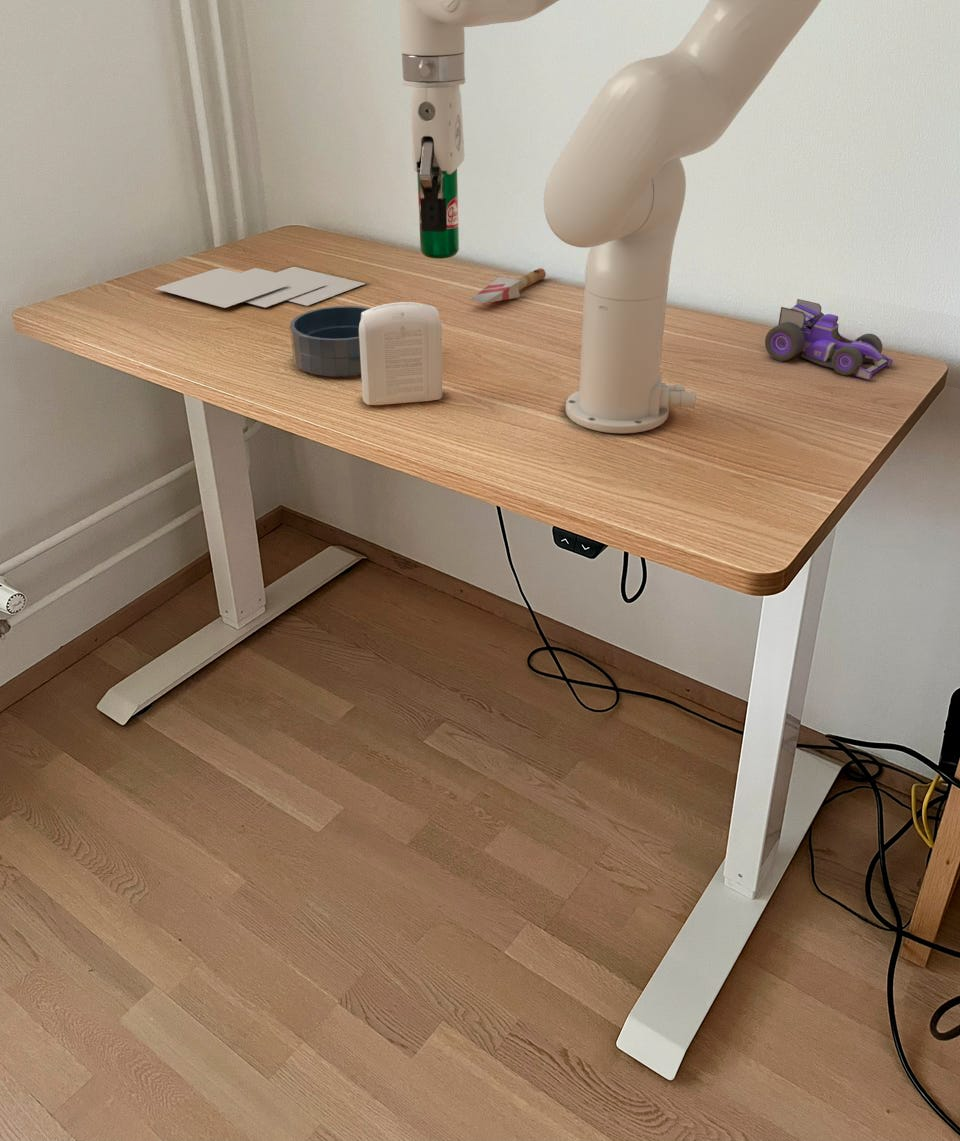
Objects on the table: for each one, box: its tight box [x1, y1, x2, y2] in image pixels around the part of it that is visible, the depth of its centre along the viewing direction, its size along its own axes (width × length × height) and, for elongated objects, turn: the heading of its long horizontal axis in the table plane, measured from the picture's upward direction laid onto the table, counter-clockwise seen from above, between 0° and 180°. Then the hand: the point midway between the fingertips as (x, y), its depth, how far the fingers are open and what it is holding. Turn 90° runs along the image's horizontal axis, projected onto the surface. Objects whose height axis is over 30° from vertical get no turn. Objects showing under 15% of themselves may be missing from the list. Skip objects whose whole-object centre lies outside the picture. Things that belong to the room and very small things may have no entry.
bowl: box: [289, 305, 372, 378], centre depth 139 cm, size 14×14×6 cm
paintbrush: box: [469, 267, 547, 304], centre depth 164 cm, size 4×3×20 cm
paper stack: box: [154, 266, 366, 309], centre depth 167 cm, size 23×25×1 cm
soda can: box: [416, 158, 460, 260], centre depth 131 cm, size 5×5×12 cm
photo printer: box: [359, 301, 443, 406], centre depth 126 cm, size 10×4×12 cm, turn 103°
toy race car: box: [764, 298, 894, 381], centre depth 138 cm, size 10×15×6 cm, turn 48°
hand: (438, 223), depth 132 cm, fingers closed on soda can, 5 cm apart
